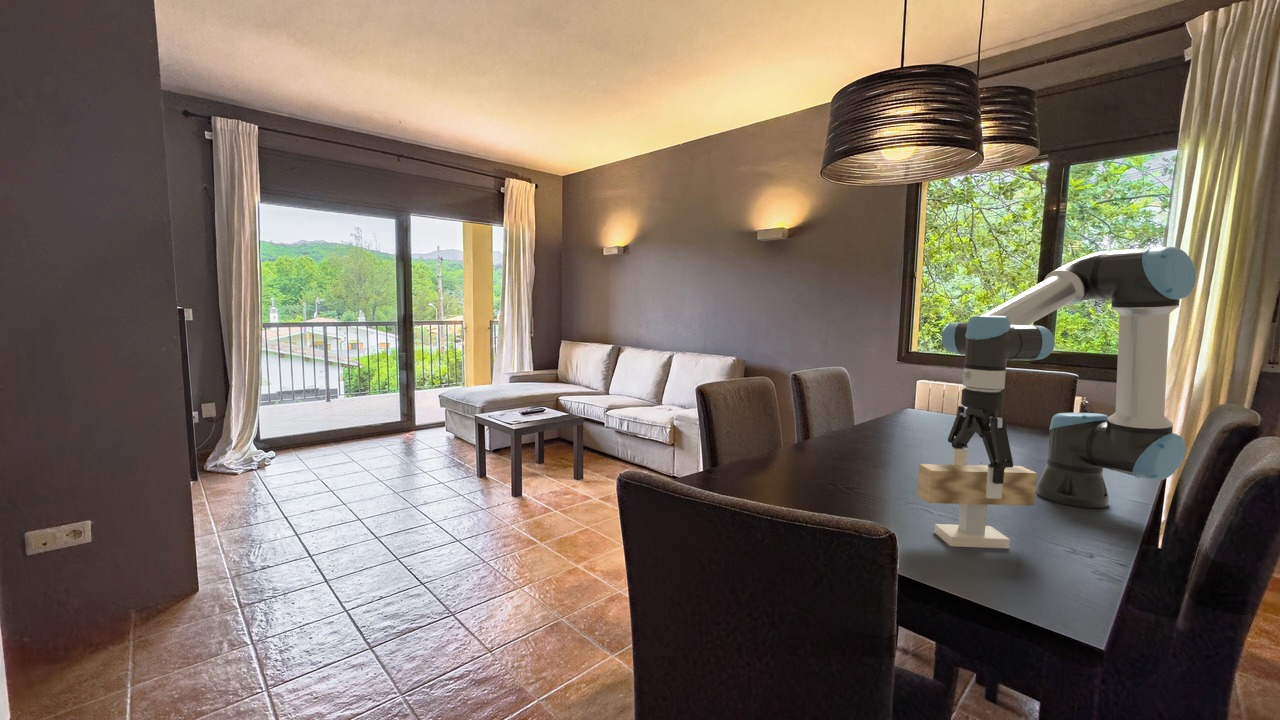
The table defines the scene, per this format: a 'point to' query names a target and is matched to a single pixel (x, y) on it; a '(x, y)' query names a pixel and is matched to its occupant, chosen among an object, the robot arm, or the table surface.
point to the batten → (974, 485)
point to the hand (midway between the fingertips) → (974, 486)
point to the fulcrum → (972, 529)
